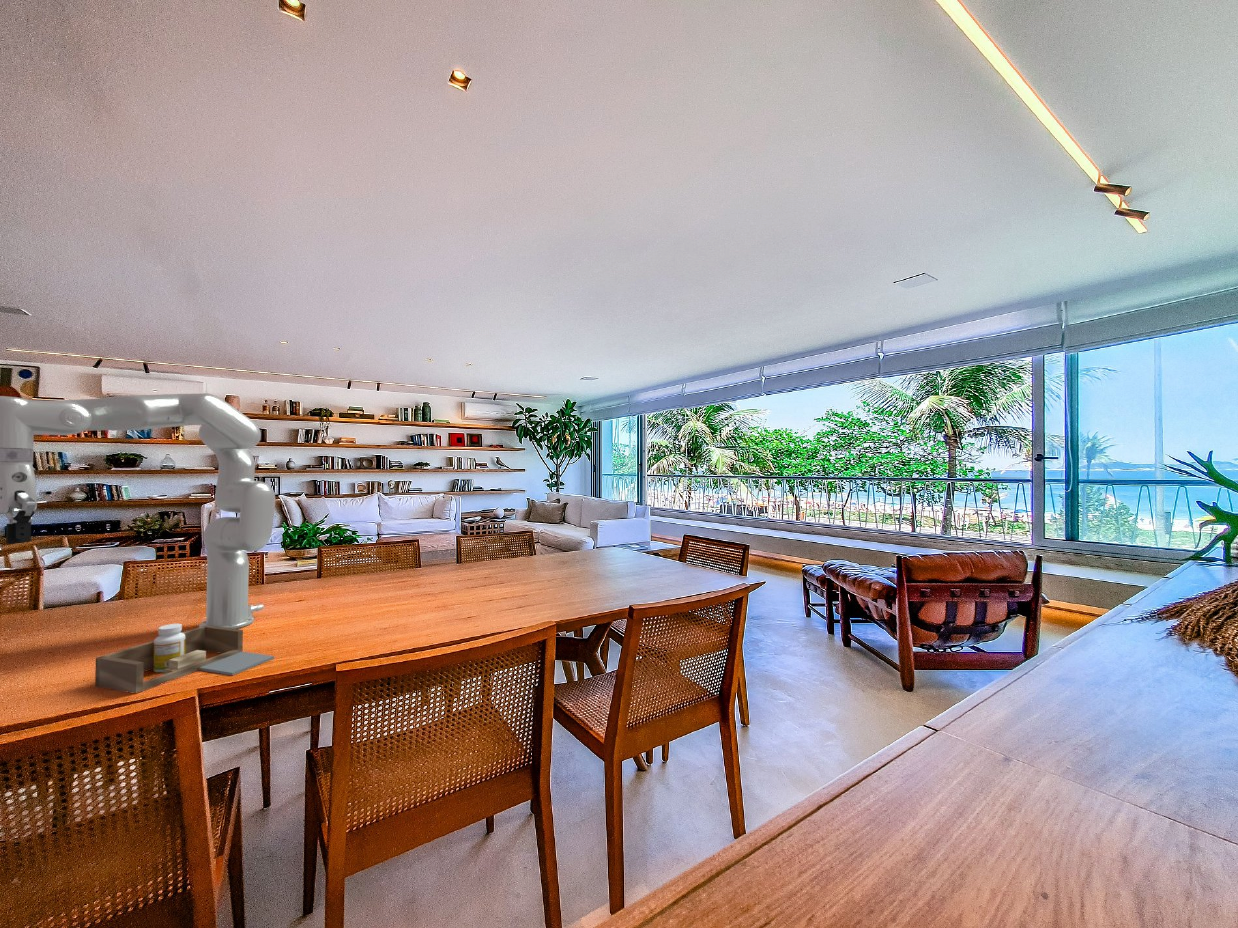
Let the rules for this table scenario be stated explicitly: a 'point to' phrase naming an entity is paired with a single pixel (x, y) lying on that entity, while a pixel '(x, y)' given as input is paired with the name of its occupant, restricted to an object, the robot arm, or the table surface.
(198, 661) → the offcut lower
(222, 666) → the mat
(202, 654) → the offcut upper
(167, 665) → the supplement bottle
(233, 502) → the robot arm
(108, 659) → the frame
